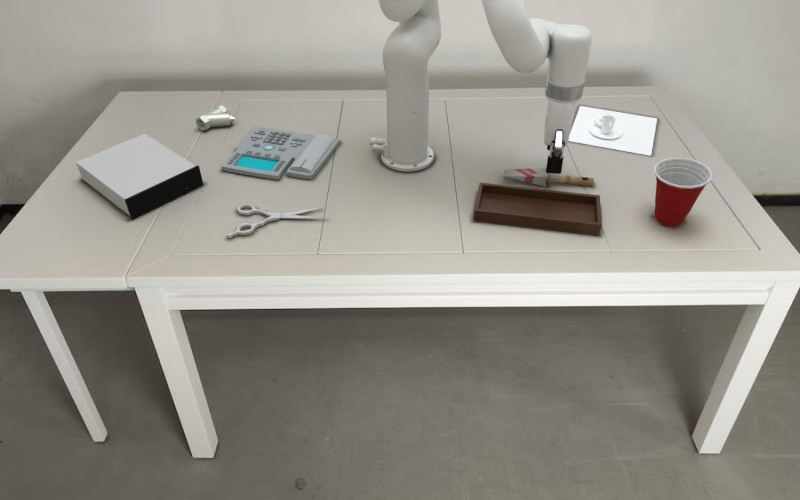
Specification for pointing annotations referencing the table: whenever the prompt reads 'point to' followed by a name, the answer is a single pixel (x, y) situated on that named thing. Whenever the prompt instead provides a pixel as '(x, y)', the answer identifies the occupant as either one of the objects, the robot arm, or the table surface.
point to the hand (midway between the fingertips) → (553, 161)
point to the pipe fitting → (215, 118)
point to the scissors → (271, 217)
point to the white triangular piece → (614, 130)
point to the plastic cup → (678, 188)
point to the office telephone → (280, 153)
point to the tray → (538, 208)
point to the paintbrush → (545, 177)
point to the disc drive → (140, 175)
